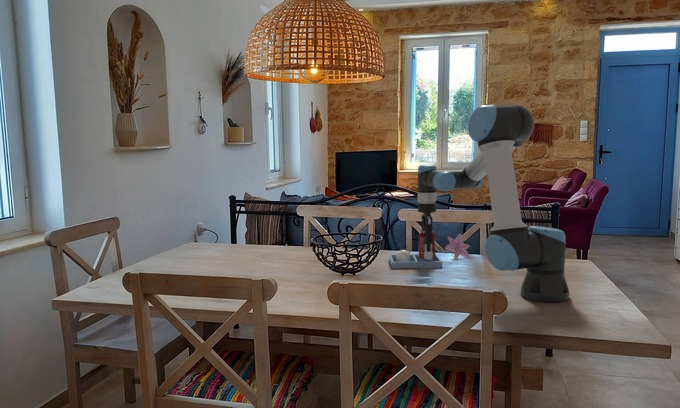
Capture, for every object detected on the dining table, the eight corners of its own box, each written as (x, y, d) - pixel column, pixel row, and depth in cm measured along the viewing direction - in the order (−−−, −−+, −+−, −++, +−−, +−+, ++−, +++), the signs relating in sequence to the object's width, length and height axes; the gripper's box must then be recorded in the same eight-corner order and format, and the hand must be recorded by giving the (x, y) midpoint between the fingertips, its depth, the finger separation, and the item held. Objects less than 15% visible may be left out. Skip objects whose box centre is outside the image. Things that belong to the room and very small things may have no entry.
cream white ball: (411, 265, 217) (411, 251, 216) (396, 265, 217) (396, 251, 216) (409, 262, 223) (409, 248, 222) (395, 262, 223) (395, 248, 222)
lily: (440, 261, 230) (447, 244, 225) (439, 246, 240) (447, 229, 235) (466, 269, 230) (474, 252, 225) (464, 253, 240) (472, 237, 235)
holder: (442, 268, 213) (442, 261, 213) (392, 269, 213) (391, 262, 213) (436, 260, 226) (436, 254, 226) (389, 261, 227) (389, 254, 226)
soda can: (434, 261, 215) (435, 232, 214) (418, 260, 217) (418, 232, 215) (435, 257, 222) (435, 229, 221) (419, 257, 223) (419, 229, 222)
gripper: (440, 205, 207) (439, 262, 209) (432, 199, 226) (432, 251, 229) (421, 205, 207) (421, 262, 210) (414, 199, 226) (414, 252, 229)
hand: (426, 256), depth 219 cm, fingers closed on soda can, 7 cm apart
